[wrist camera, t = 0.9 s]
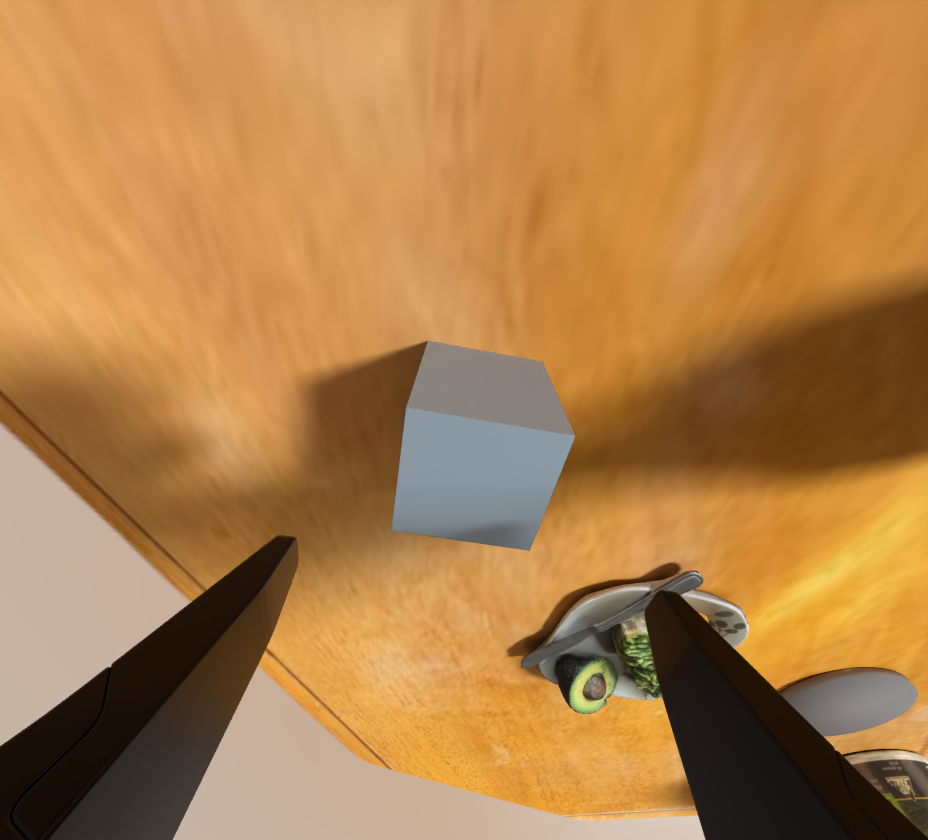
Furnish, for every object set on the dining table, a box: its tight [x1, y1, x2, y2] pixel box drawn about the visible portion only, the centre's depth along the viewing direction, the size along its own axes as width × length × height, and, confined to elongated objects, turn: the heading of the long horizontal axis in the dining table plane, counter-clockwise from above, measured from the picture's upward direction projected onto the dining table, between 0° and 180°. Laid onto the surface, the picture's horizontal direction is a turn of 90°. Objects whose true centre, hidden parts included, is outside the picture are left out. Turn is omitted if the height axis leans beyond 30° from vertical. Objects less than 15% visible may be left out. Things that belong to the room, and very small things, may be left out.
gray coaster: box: [780, 668, 918, 736], centre depth 30 cm, size 10×10×1 cm
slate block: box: [392, 341, 575, 551], centre depth 15 cm, size 5×5×6 cm
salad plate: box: [521, 571, 749, 714], centre depth 25 cm, size 15×14×4 cm
